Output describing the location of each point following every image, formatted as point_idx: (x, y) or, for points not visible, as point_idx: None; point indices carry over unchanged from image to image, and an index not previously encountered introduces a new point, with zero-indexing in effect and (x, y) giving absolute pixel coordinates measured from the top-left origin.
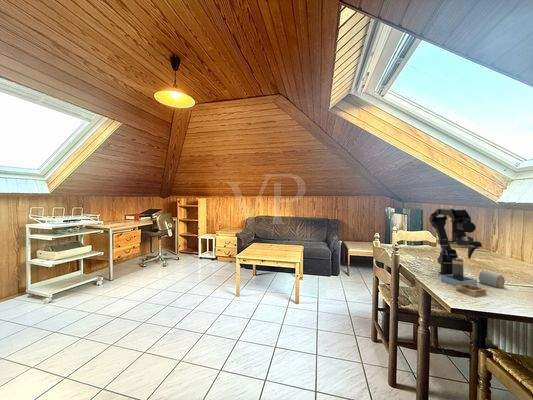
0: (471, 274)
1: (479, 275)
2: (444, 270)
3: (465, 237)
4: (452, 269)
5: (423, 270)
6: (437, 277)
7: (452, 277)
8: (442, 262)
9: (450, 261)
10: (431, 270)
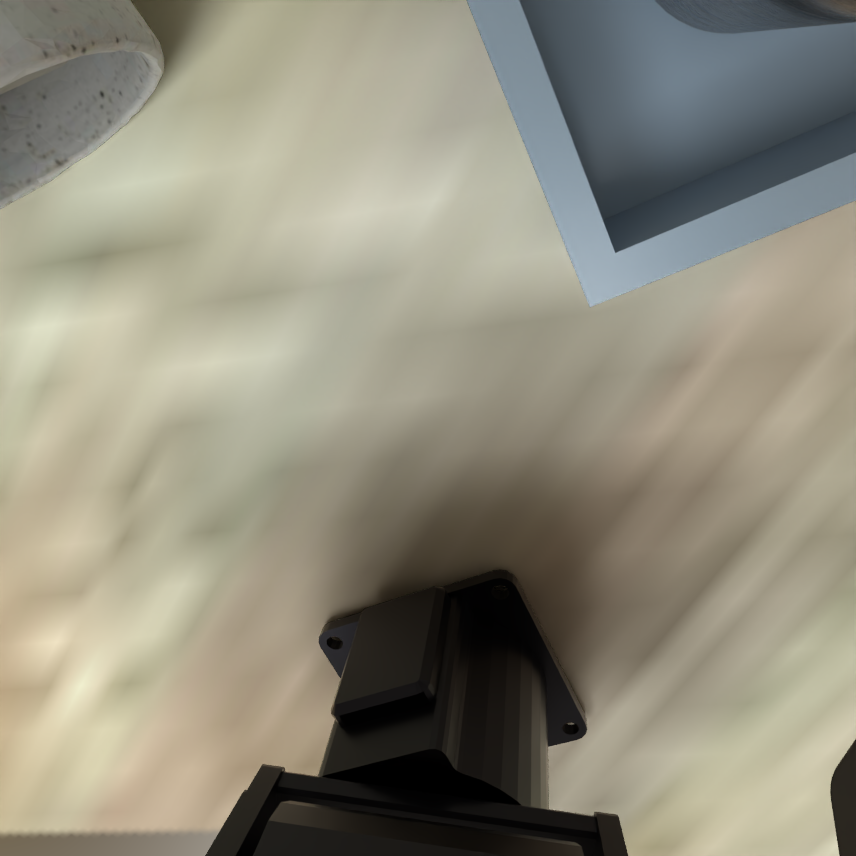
0: (47, 679)
1: (86, 36)
2: (533, 704)
3: None
4: (411, 667)
5: (776, 837)
6: (821, 465)
7: (732, 184)
8: (611, 854)
9: (441, 831)
10: None
